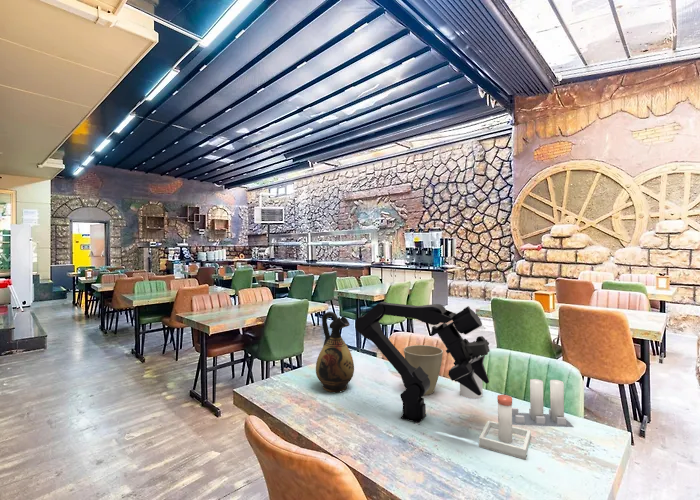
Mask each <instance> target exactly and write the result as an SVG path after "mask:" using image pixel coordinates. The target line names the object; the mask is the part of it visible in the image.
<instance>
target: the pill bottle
mask: <svg viewBox="0 0 700 500" xmlns="http://www.w3.org/2000/svg"><path fill="white" fill-rule="evenodd" d="M473 377H474V379H475V381H476V383H477V385H478V387H479V389H480V391H481V393H482V394H481V395H479V396H478V395H477V394H475V393H474V392H472V391H471V390H469V389H468V388H467V387H465V386H463V385H462V384H460V383H459V396H462V397H464V398H468V399H473V400H476V399H480V398H482V397H483V391H484V390H483V385H484V384H483V382H484V381H483V380H481V379H480V378H479V377H478V376H477V375H476V374H475V373H474V374H473Z"/></svg>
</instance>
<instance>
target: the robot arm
mask: <svg viewBox="0 0 700 500" xmlns="http://www.w3.org/2000/svg"><path fill="white" fill-rule="evenodd" d="M384 316H392V317H398V318H399V317H401V318H409V319H414V320H418V321H419V322H422V323H425V324H428V325H432V327H431V331H430V332H431V333H430V336H431V337H434V336H435V335H436V334H437V335H438V337H439V339H440V340H441V341H442V343H443V344H444V346H445V348H446V350H445V352H446V354H447V355H448V354H450V356H451V357H452V358H453V360H454V361H453V366H452V367H451V368H450V369H449V370H448V375H447V376H448V377H449V379H450V380H451V381H452V382H453V381H454V382H456V383H459V385H460V384H462V385H463V386H465V387H467V388H468V389H469V390H471V391H472V392H474V393H475V394H477V395H478V396H479V395H481V394H482V393H481V391H480V389H479V387H478V385H477V383H476V381H475V379H474V377H473V374H474V373H475V374H476V375H477V376H478V377H479V378H480V379H481V380H483V382H484V383H485V384H489V383H490V380H489V377H488V374H487V371H486V369H485V365H484V361H485V357H486V356H487V355H488V354H489V353H490V347H489V345H490V342H489V341H488V339H485V337H484V336H483V335H480V336H477V337H476V338H475V339H476V340H474V341H472V342H471V341H469V340H468V338H467V339H466V338H463V336H462V334H463V335H468V334H471V333H472V332H473V331H476V330H477V329H479V328H481V327H482V326H483V322H482V320H481V318H480V317H479V315H478V314H477V313H476V312H475V311H474V310H472V309H471V307H470V306H468V305H467V306H466V307H464V308H463V309H462V310H461V311H459V312H457V313H456V312H453V311H450V310H447V309H446V307H444V305H443V304H441V303H440V304H438V303H435V304H434V303H433V304H423V305H412V304H401V303H392V302H388V301H381V302H378V303H376V304H375V305H374V307H372V309H370V310H369V311H368V312H367V313H365V314H364V315H361V316H359V317H358V318H356V320H355V323H354V324H355V325H354V328H355V330H356V332H357V333H359V334H360V335H361V336H362V337H363V338H365V339H367V340H369V341H371V342H372V343H373V344H374V345H375V346H376V348H377V349H378V350H379V352H380V353H382V355H383V356H384V357H385V359H387V361H388V362H389V363H390V365H392V367H393V368H394V369H395V370H396V372H397V373H398V374H399V375H400V377H401V381H402V384H403V386H404V388H405V389H404V390H403V391H402V392H401V393H400V395H399V396H400V399H401V401H402V414H401V415H400V419H402V420H407V421H410V422H414V423H419V424H420V423H421V422H422V420H424V418H425V417H426V416H427V413H426V409H427V408H426V405H427V404H426V403H425V398H424V397H423V396H425V395H424V394H425V393H426V392H427V390H428V389H429V388H430V380H429V378H428V376H429V375H427V374H426V373H425V372H424V371H423V369H422V368H421V367H420V366H419V367H418V368H415V367H413V366H411V365H410V364H409V362H408V361H407V360H406V359H405V356H404V354H402V353H401V352H400V350H398V348H397V347H396V346H395V345H394V344H393V342H391V340H390V339H389V338H388V336H387V335H386V334H385V333H384V331H383V328H382V326H381V323H380V321H381V320H382V319H383V318H384ZM451 321H452V322H451ZM440 323H441V324H440ZM448 323H449V324H448ZM439 324H440V325H439ZM437 325H438V326H437Z"/></svg>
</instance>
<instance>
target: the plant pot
mask: <svg viewBox="0 0 700 500" xmlns="http://www.w3.org/2000/svg"><path fill="white" fill-rule="evenodd" d="M443 353H444V350H443V349H442V348H440V347H437V346H433V345H424V344H423V345H422V344H418V345H417V344H415V345H409V346H405V347H404V348H403V357H404V358H405V359H406V360H407V361H408V362H409V364H410V365H411V366H413V367H415V368H418V367H419V366H420V367H421V368H422V369H423V371H424V372H425V373H426V374H427V375H429V376H428V378H429V380H430V388H429V389H428V390H427V392H426V393H425V394H424V395H423V396H427V395H432V394H433V393H434V391H435V389H436V386H437V384H438V381H439V376H440V372H441V367H442V362H443Z"/></svg>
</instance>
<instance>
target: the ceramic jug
mask: <svg viewBox="0 0 700 500" xmlns="http://www.w3.org/2000/svg"><path fill="white" fill-rule="evenodd" d="M328 318H332V321H331V323H329V325H328ZM321 322H322V323H321V324H322V330H323V334H324V339H325V340H324V342H323V346H322V348H321V350H320V352H319V354H318V357H317V359H316V363H315V374H316V378H317V380H318V381H319V382H320V383H321V384H322V389H323V390H324V391H325V390H326V392H330V393H331V392H335V393H341V392H340V391H342V392H344V391H343V390H345V391H346V389H347V385H349V383H350V382H351V381H352V379H353V378H354V377H353V376H354V374H355V373H354V372H355V364H354V359H353V355H352V353H351V351H350V349H349V347H348V346H347V344H346V342H345V340H344V339H343V337H342V336H341V330H342V329H344V328H347V327H349V326H350V322H349V320H348V319H347V318H346V317H345V316H342V317H338V315H337V313H335V312H333V311H327V312H325V313H324V314H323V316H322V318H321ZM329 328H330V329H331V333H330V331H329V330H330V329H329Z"/></svg>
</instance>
